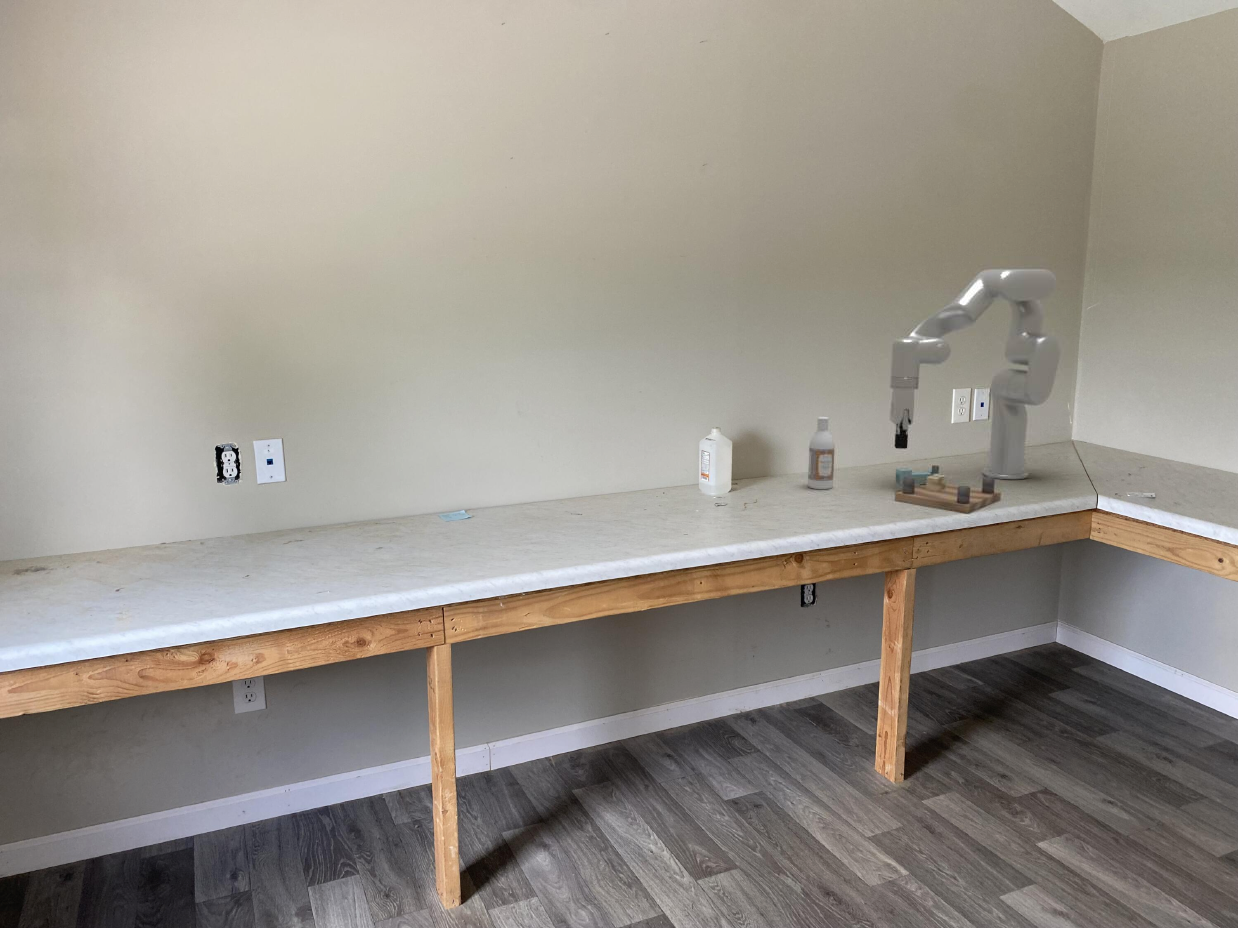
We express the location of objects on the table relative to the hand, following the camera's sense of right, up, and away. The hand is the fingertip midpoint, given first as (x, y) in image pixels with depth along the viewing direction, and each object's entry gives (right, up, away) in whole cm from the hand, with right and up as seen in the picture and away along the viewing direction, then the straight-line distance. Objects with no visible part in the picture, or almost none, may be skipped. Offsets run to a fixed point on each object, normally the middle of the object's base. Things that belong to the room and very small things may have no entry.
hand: (900, 447), depth 257 cm
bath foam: (-22, -11, +2) cm, 25 cm away
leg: (+4, -10, -4) cm, 11 cm away
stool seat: (+8, -14, -14) cm, 21 cm away
